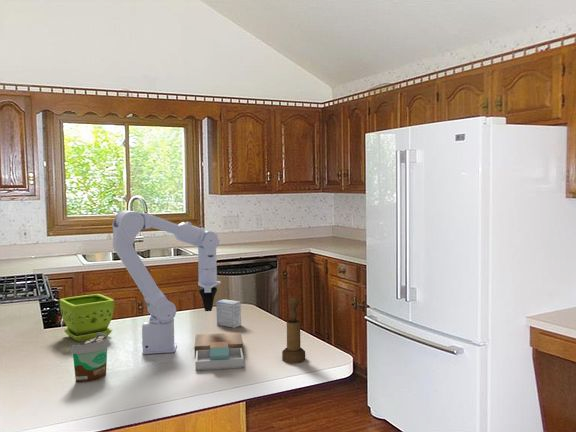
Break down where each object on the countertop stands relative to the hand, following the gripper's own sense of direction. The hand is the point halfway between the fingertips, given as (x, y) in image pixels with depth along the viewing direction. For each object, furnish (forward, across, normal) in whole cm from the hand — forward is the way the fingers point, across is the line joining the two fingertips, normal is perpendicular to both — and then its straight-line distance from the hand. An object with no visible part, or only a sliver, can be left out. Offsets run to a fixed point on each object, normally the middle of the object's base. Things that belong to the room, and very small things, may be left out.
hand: (208, 310), depth 166 cm
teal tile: (+6, -24, -3) cm, 25 cm away
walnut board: (+10, -10, -3) cm, 14 cm away
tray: (+10, -21, -3) cm, 24 cm away
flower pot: (+10, +13, +40) cm, 43 cm away
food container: (+10, -26, +29) cm, 40 cm away
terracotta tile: (+8, -19, -3) cm, 21 cm away
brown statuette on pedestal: (+10, -22, -24) cm, 34 cm away
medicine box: (+10, +18, -7) cm, 22 cm away
